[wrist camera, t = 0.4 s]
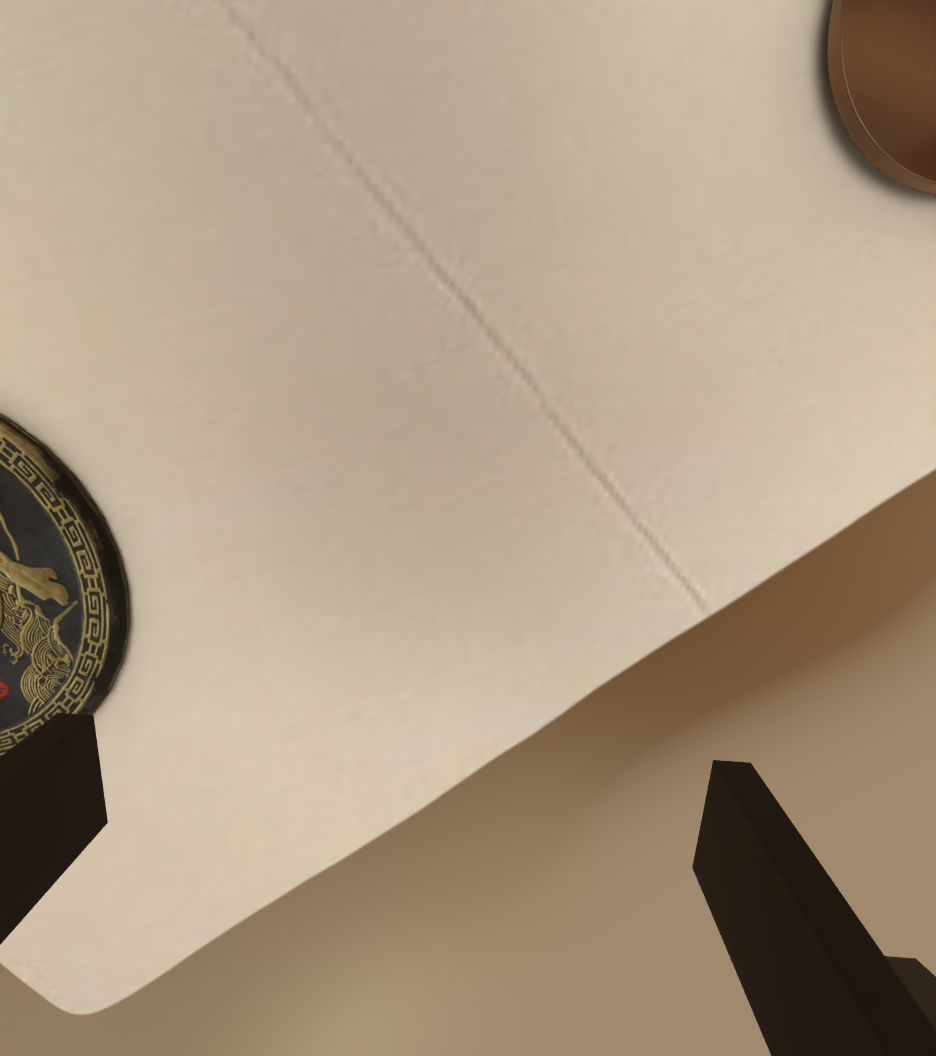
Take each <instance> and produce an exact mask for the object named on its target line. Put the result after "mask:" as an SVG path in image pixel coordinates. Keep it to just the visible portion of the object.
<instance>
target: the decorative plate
mask: <svg viewBox="0 0 936 1056" xmlns="http://www.w3.org/2000/svg"><path fill="white" fill-rule="evenodd" d="M128 630H129V613H128V590H127V586H126V582H125V578H124V574H123V570H122V566H121V562H120V558H119V554H118V551H117V549H116V547H115V545H114V543H113V540H112V538H111V536H110V534H109V532H108V530H107V527H106V525H105V523H104V521H103V519H102V516H101V515H100V513H99V512H98V510H97V509H96V507H95V506H94V504H93V503H92V502H91V500H90V499H89V497H88V496H87V494H86V493H85V491H84V490H83V488H82V487H81V485H80V484H79V483H78V481H77V480H76V479H75V478H74V476H73V475H72V474H71V473H70V472H69V471H68V470H67V469H66V468H65V467H64V466H63V465H62V464H61V463H60V462H59V461H58V460H57V459H56V458H55V457H54V456H53V455H52V454H51V452H50V451H49V450H48V449H47V448H46V447H45V446H43V445H42V444H41V443H39V442H38V441H37V440H35V439H34V438H33V437H31V436H30V435H29V434H27V433H26V432H25V431H23V430H22V429H21V428H19V427H18V426H17V425H15V424H14V423H13V422H11V421H10V420H8V419H6V418H5V417H3V416H1V415H0V756H1V755H3V754H4V753H5V752H7V751H8V750H9V749H11V748H12V747H13V746H15V745H16V744H17V743H19V742H20V741H21V740H23V739H24V738H25V737H27V736H28V735H29V734H31V733H32V732H33V731H35V730H36V729H37V728H39V727H40V726H41V725H43V724H44V723H45V722H47V721H48V720H49V719H51V718H52V717H53V716H55V715H56V714H57V713H69V714H83V715H93V713H94V712H95V711H96V709H97V708H98V707H99V705H100V704H101V703H102V701H103V700H104V699H105V697H106V696H107V695H108V693H109V692H110V690H111V688H112V686H113V683H114V681H115V679H116V676H117V674H118V672H119V669H120V667H121V665H122V662H123V658H124V652H125V646H126V641H127V635H128Z"/></svg>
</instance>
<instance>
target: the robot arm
mask: <svg viewBox="0 0 936 1056" xmlns="http://www.w3.org/2000/svg"><path fill="white" fill-rule="evenodd" d="M107 823H108V821H107V813H106V806H105V798H104V791H103V783H102V776H101V768H100V761H99V753H98V746H97V739H96V731H95V724H94V716H93V715H83V714H69V713H57V714H56V715H55V716H53V717H52V718H51V719H49V720H48V721H47V722H45V723H44V724H43V725H41V726H40V727H39V728H37V729H36V730H35V731H33V732H32V733H31V734H29V735H28V736H27V737H25V738H24V739H23V740H21V741H20V742H19V743H17V744H16V745H15V746H13V747H12V748H11V749H9V750H8V751H7V752H5V753H4V754H3V755H1V756H0V944H1V943H2V942H3V941H4V940H5V939H6V938H7V936H8V935H9V934H10V933H11V932H12V931H13V930H14V929H15V927H16V926H17V925H18V924H19V923H20V922H21V921H22V919H23V918H24V917H25V916H26V915H27V914H28V913H29V911H30V910H31V909H32V908H33V907H34V906H35V905H36V904H37V902H38V901H39V900H40V899H41V898H42V897H43V896H44V894H45V893H46V892H47V891H48V890H49V889H50V888H51V886H52V885H53V884H54V883H55V882H56V881H57V880H58V879H59V877H60V876H61V875H62V874H63V873H64V872H65V871H66V869H67V868H68V867H69V866H70V865H71V864H72V863H73V861H74V860H75V859H76V858H77V857H78V856H79V855H80V854H81V852H82V851H83V850H84V849H85V848H86V847H87V846H88V844H89V843H90V842H91V841H92V840H93V839H94V838H95V836H96V835H97V834H98V833H99V832H100V831H101V830H102V828H103V827H104V826H105V825H106V824H107ZM693 870H694V873H695V875H696V877H697V879H698V882H699V884H700V887H701V889H702V892H703V894H704V896H705V899H706V901H707V904H708V906H709V908H710V910H711V913H712V915H713V918H714V920H715V923H716V925H717V927H718V930H719V932H720V935H721V937H722V939H723V941H724V944H725V946H726V949H727V951H728V954H729V956H730V958H731V961H732V963H733V965H734V968H735V970H736V973H737V975H738V977H739V980H740V982H741V985H742V987H743V989H744V991H745V994H746V996H747V999H748V1001H749V1004H750V1006H751V1008H752V1010H753V1013H754V1015H755V1018H756V1020H757V1023H758V1025H759V1027H760V1030H761V1032H762V1034H763V1037H764V1039H765V1042H766V1044H767V1046H768V1049H769V1051H770V1054H771V1056H936V977H935V976H934V975H933V974H932V973H931V972H930V971H929V970H928V969H927V968H925V967H924V966H923V965H922V964H921V963H920V962H919V961H918V960H917V959H913V958H901V957H888V956H884V955H883V953H882V952H881V950H880V949H879V948H878V946H877V945H876V943H875V942H874V940H873V939H872V938H871V936H870V935H869V933H868V932H867V930H866V929H865V927H864V926H863V924H862V923H861V922H860V920H859V919H858V917H857V916H856V914H855V913H854V911H853V910H852V909H851V907H850V906H849V904H848V903H847V901H846V900H845V898H844V897H843V896H842V894H841V893H840V891H839V890H838V888H837V887H836V886H835V884H834V883H833V881H832V880H831V878H830V877H829V875H828V874H827V872H826V871H825V870H824V868H823V867H822V865H821V864H820V863H819V861H818V859H817V858H816V857H815V855H814V854H813V852H812V851H811V849H810V848H809V847H808V845H807V844H806V842H805V841H804V839H803V838H802V836H801V835H800V833H799V832H798V831H797V829H796V828H795V826H794V825H793V823H792V822H791V821H790V819H789V818H788V816H787V815H786V813H785V812H784V811H783V809H782V808H781V806H780V805H779V803H778V802H777V800H776V799H775V797H774V796H773V794H772V793H771V792H770V790H769V789H768V787H767V786H766V784H765V783H764V781H763V780H762V779H761V777H760V776H759V774H758V773H757V772H756V770H755V769H754V767H753V766H752V764H751V763H746V762H733V761H719V760H713V764H712V769H711V774H710V780H709V785H708V790H707V795H706V801H705V806H704V811H703V816H702V821H701V826H700V831H699V836H698V842H697V847H696V852H695V857H694V862H693Z"/></svg>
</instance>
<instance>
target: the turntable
mask: <svg viewBox="0 0 936 1056" xmlns="http://www.w3.org/2000/svg"><path fill="white" fill-rule="evenodd" d="M828 69H829V77H830V85H831V89H832V93H833V97H834V101H835V105H836V108H837V110H838V113H839V115H840V118H841V120H842V123H843V125H844V127H845V129H846V130H847V132H848V134H849V136H850V137H851V139H852V141H853V142H854V144H855V145H856V146H857V147H858V149H859V150H860V151H861V152H862V154H863V155H864V156H865V157H866V158H867V159H868V160H869V161H870V162H871V163H872V164H873V165H874V166H876V167H877V168H878V169H879V170H880V171H881V172H883V173H885V174H886V175H888V176H889V177H891V178H892V179H894V180H896V181H898V182H900V183H902V184H905V185H907V186H909V187H911V188H914V189H918V190H922V191H926V192H930V193H935V194H936V0H833V5H832V9H831V14H830V22H829V31H828Z"/></svg>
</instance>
